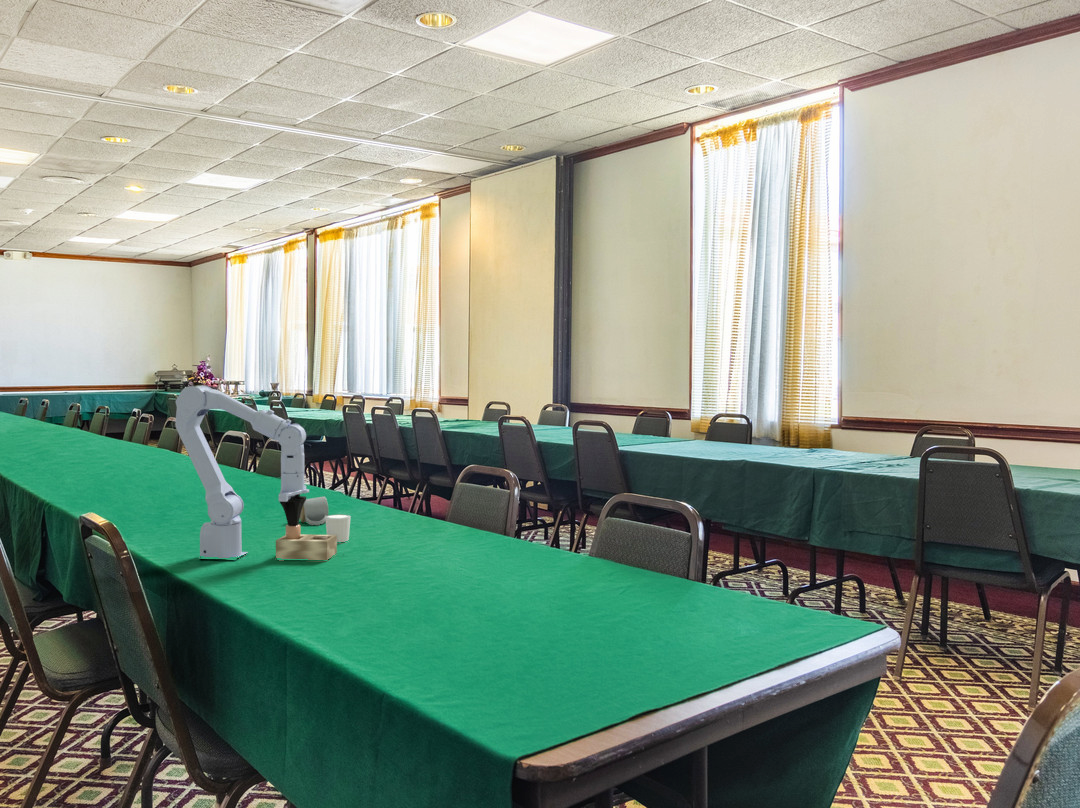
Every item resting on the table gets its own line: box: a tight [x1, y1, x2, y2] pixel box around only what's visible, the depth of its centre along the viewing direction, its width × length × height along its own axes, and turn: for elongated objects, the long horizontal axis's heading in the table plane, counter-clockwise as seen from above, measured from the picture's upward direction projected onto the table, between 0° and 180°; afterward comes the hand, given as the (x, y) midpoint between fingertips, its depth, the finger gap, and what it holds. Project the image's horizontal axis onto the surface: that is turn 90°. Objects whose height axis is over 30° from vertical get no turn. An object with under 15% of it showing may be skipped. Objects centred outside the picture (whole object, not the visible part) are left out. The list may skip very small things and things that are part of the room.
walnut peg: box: [313, 536, 328, 540], centre depth 215 cm, size 4×4×5 cm
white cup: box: [325, 514, 351, 543], centre depth 235 cm, size 7×7×7 cm
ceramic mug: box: [299, 496, 329, 526], centre depth 262 cm, size 11×8×8 cm
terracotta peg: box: [285, 523, 302, 539], centre depth 215 cm, size 4×4×5 cm
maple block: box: [275, 533, 338, 561], centre depth 215 cm, size 13×8×5 cm, turn 87°
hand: (293, 525), depth 215 cm, fingers closed, pressing on terracotta peg
